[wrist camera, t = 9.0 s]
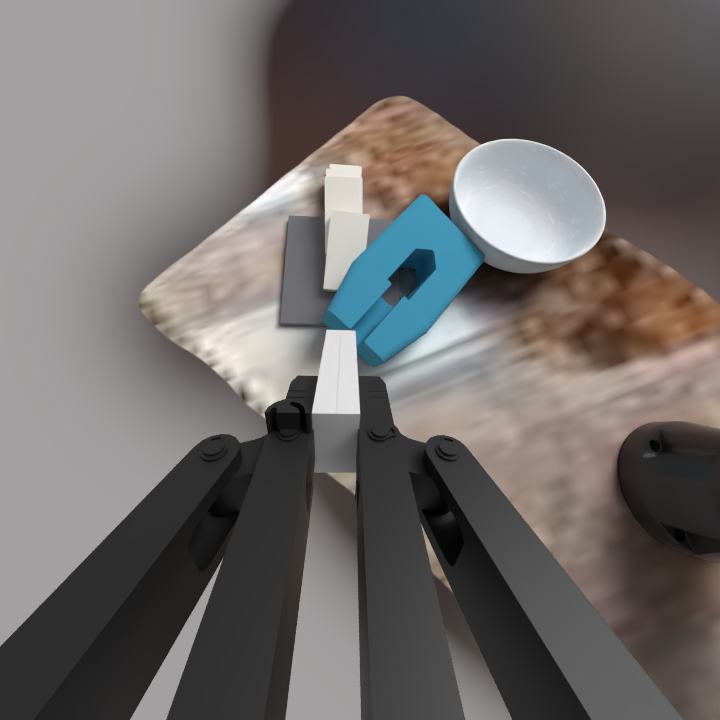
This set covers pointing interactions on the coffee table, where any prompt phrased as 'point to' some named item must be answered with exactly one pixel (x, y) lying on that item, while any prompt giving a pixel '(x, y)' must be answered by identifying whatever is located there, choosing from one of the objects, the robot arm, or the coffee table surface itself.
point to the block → (370, 280)
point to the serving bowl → (525, 205)
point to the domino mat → (316, 272)
